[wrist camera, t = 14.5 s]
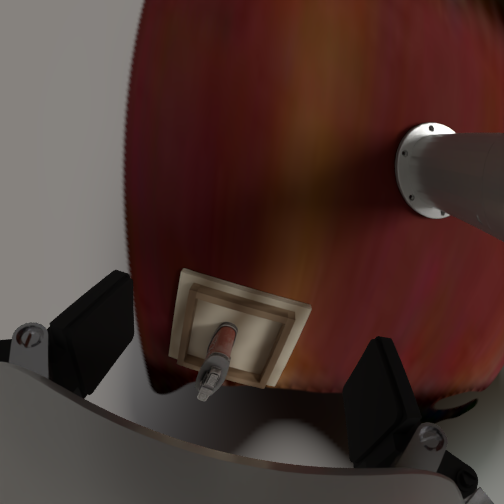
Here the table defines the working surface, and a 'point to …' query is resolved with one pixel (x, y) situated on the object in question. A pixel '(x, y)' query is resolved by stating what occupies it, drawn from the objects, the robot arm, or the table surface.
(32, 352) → the robot arm
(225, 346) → the lighter
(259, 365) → the square beige tray
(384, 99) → the table surface
